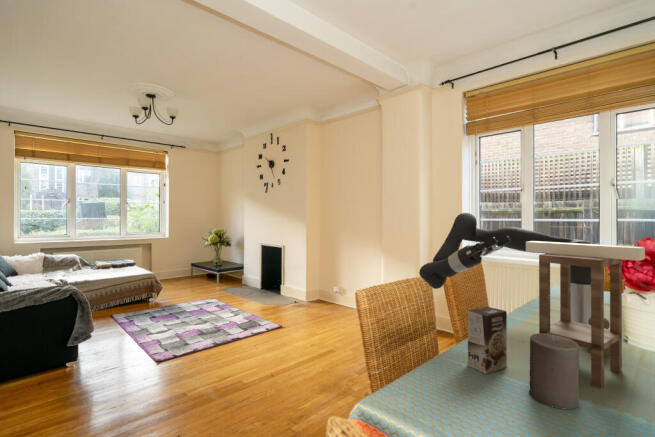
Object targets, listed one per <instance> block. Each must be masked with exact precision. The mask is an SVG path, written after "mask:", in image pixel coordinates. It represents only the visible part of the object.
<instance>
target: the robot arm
mask: <svg viewBox="0 0 655 437" xmlns="http://www.w3.org/2000/svg"><path fill="white" fill-rule="evenodd" d="M477 224H478V223H477V218H476V216H475V215H474V214H472V213H470V212H462V213H459V214H458V215H457V216H456V217H455V219H454V221H453V224H452V227H451V229H450V231H449V233H448V234H447V236H446V238H445V240H444V242H443V243H442V245H441V246H440V248H439V250H438V251H437V252H436V254H434V257H433V259H432V262H427V263H425V264H423V265H422V266H421V267H420V268H419V272H418V273H419V276H420V278H421V279H422V280H424V281H425V283H427V285H429V287H431V288H432V289H435V290H439V289H440V288H442V287H443V286H444V285H445V284H446V281H447V278H451V277H455V275H458V274H460V273H462V272H466V271H467V270H470V269H473V268H474V267H475V266H478V265H480V264H481V263H482V260H483V259H482V258H483V257H486V256H488V255H491V254H492V253H494V252H497V251H498V250H501V249H503V248H506V249H511V250H515V251H520V252H525V253H526V242H528V241H542V242H561V243H579V244H592V243H591V242H590V241H587V240H585V239H577V238H576V239H575V238H566V237H565V238H564V237H558V236H553V235H549V234H546V233H543V232H538V231H535V230H531V229H528V228H527V229H526V228H522V227H521V228H520V227H516V226H504V227H500V228H496V229H484V228H479V227H477ZM463 241H467V242H468V241H469V242H473V243H474V242H475V243H476V242H477V243H476V244H474V245H473V244H468V245H466V246H465V245H464V247H461V248H460V246H461V244H462V242H463ZM531 253H533V254H539V253H538V252H531ZM544 254H547V253H544ZM590 317H591V267H584V266H574V265H571V321H573V322H578V323H582V324H587V325H589V323H588V320H589V318H590Z"/></svg>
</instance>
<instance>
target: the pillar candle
mask: <svg viewBox="0 0 655 437" xmlns="http://www.w3.org/2000/svg"><path fill="white" fill-rule="evenodd" d="M579 353H580V346H579V345H578V344H577V343H576V342H574V341H573V340H571V339H569V338H565V337H562V336H558V335H552V334H543V333H540V334H539V333H534V334H531V335H530V337H529V390H528V393H529V395H530V396H531V398H533V399H534V400H535V401H536V402H539V403H540V402H541V404H543V405H545V404H546V405H545V406H547V405H549V406H548V407H550V406H553V407H552V408H554V407H557V408H556V409H558V408H566V409H565V410H573V409H576V408H577V407H578V405H579V373H580V372H579V370H580V369H579V368H580V366H579V364H580V363H579V362H580V360H579V357H580V356H579ZM575 407H576V408H575ZM572 408H573V409H572Z"/></svg>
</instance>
